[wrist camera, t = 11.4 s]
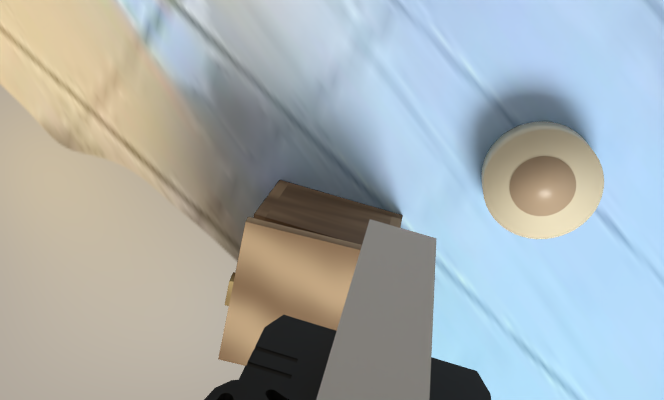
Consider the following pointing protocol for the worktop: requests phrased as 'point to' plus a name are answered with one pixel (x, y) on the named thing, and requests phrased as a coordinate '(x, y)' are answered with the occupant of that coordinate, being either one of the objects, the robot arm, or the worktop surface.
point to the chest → (321, 212)
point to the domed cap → (541, 180)
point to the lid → (284, 283)
